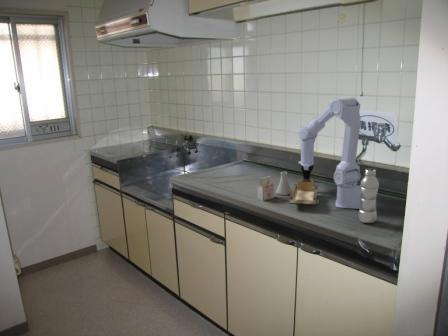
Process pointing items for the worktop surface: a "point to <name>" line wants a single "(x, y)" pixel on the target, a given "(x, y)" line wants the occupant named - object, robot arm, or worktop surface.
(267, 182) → the pink and white carton
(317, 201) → the beam stand
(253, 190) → the worktop surface
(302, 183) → the bronze weight
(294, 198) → the small cardboard box
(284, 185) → the flask
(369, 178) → the plastic bottle
